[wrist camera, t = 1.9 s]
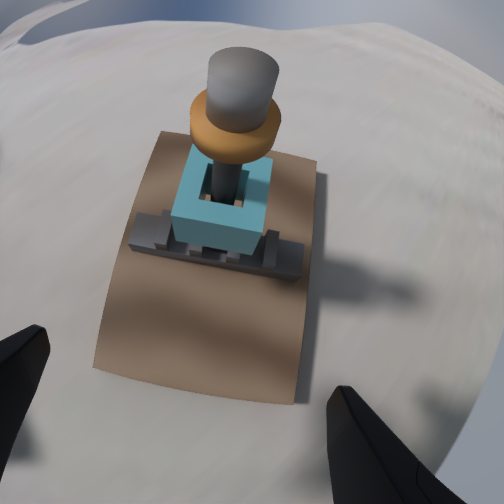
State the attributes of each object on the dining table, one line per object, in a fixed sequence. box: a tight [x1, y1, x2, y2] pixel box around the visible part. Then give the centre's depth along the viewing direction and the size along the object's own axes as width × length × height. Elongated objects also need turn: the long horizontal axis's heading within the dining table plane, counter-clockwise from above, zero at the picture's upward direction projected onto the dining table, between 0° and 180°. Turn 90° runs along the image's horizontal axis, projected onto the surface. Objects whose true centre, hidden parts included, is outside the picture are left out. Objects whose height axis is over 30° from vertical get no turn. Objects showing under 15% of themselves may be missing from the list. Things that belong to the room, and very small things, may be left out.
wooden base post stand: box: [93, 47, 317, 405], centre depth 16 cm, size 20×14×17 cm
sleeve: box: [171, 144, 273, 255], centre depth 15 cm, size 4×4×3 cm
